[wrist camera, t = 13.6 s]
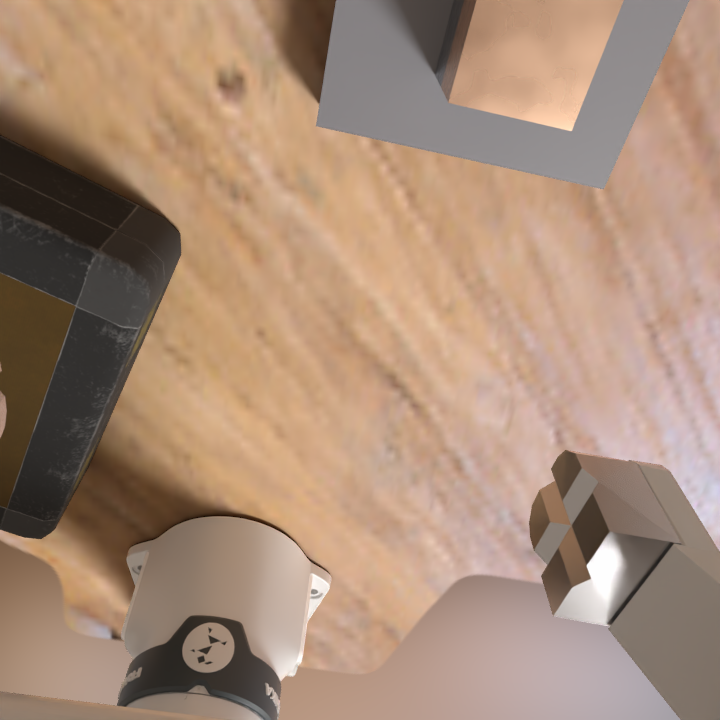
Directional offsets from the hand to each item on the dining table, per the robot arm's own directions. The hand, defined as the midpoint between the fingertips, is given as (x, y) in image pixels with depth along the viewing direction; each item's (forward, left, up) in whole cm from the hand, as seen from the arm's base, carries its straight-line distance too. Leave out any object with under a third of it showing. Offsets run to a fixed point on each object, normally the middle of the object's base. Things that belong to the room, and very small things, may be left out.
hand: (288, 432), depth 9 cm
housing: (+6, -6, -24) cm, 25 cm away
